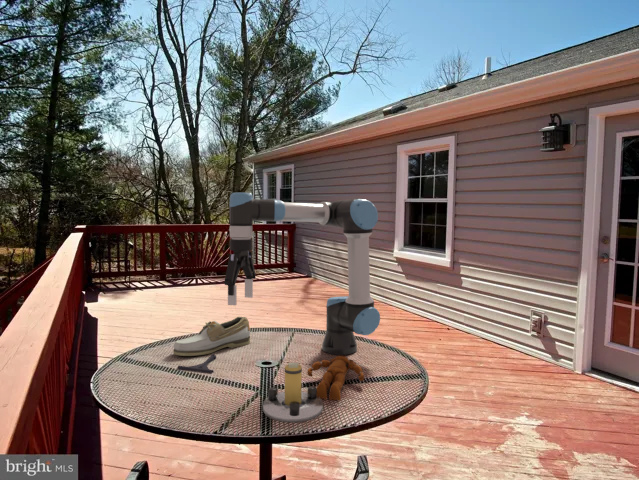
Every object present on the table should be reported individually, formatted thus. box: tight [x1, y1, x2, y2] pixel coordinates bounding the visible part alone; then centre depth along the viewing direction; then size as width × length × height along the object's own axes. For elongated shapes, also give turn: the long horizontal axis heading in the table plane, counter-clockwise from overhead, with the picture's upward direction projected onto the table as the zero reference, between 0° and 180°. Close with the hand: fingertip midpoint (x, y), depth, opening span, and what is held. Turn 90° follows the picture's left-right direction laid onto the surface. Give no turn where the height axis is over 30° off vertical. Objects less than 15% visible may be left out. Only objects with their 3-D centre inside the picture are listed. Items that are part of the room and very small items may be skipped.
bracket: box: [176, 353, 217, 374], centre depth 165 cm, size 14×15×3 cm
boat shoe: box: [173, 316, 252, 357], centre depth 185 cm, size 13×36×12 cm, turn 136°
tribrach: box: [262, 385, 324, 423], centre depth 129 cm, size 18×18×4 cm
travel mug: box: [284, 361, 303, 406], centre depth 128 cm, size 5×5×12 cm
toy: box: [306, 355, 365, 402], centre depth 149 cm, size 20×7×30 cm
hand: (240, 301), depth 145 cm, fingers open, 13 cm apart
